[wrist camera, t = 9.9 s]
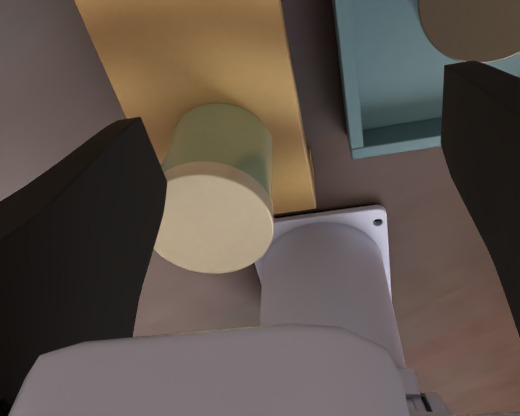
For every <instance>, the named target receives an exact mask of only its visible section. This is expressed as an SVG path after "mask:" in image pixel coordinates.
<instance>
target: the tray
mask: <svg viewBox="0 0 520 416" xmlns="http://www.w3.org/2000/svg"><path fill="white" fill-rule="evenodd" d="M332 4H333V13H334V22H335V31H336V40H337V48H338V57H339V66H340V75H341V84H342V92H343V101H344V110H345V119H346V128H347V137H348V142H349V147H350V152H351V158H352V159H359V158H365V157H372V156H378V155H385V154H391V153H398V152H405V151H411V150H418V149H424V148H431V147H437V146H441V124H442V102H443V81H444V65H448V64H454V63H460V61H456V60H453V59H451V58H449V57H447V56H445V55H443V54H442V53H440V52H439V51H438V50H437V49H436V48H434V47H433V45H432V44H431V43H430V42H429V41H428V39H427V38H426V36H425V34H424V33H423V31H422V29H421V28H420V26H419V24H418V21H417V18H416V15H415V13H414V11H413V10H412V8H411V6H410V5H409V3H408V2H407V0H332ZM484 64H487V65H490V66H492V67H495V68H497V69H500V70H502V71H505V72H507V73H509V74H512V75H514V76H517V77H519V78H520V53H519V54H517V55H514V56H512V57H510V58H507V59H504V60H500V61H496V62H492V63H484Z"/></svg>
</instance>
